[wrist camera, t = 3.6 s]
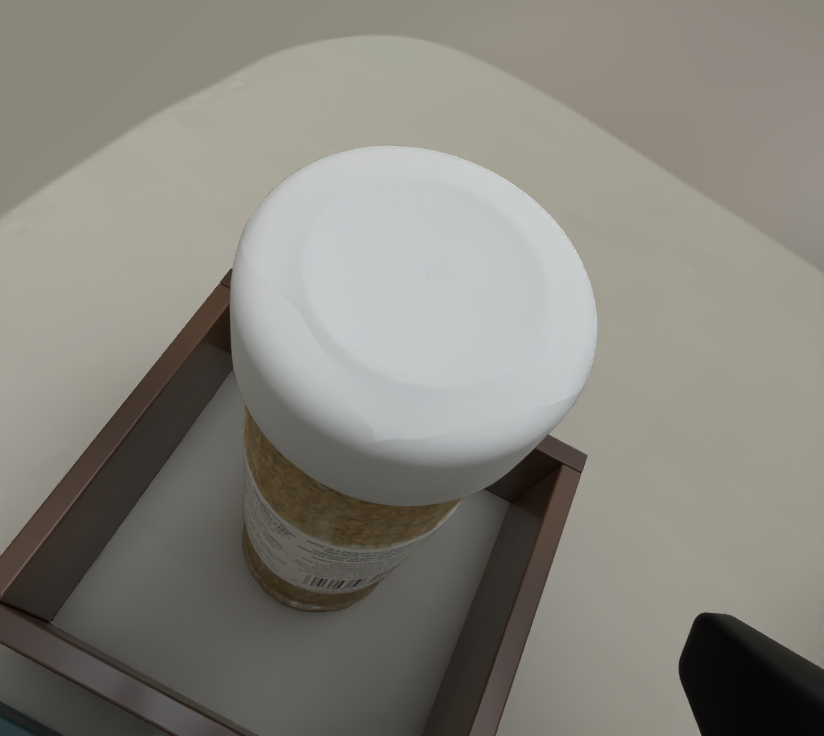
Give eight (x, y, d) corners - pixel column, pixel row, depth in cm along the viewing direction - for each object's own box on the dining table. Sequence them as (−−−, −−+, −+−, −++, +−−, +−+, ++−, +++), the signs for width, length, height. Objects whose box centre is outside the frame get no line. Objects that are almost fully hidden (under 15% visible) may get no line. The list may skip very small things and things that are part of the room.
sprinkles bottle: (396, 469, 21) (592, 166, 9) (390, 621, 19) (635, 481, 7) (250, 453, 20) (259, 97, 8) (226, 611, 18) (191, 432, 6)
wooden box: (404, 846, 16) (447, 884, 13) (12, 635, 16) (-50, 616, 13) (532, 495, 21) (588, 454, 18) (233, 337, 21) (230, 267, 18)
